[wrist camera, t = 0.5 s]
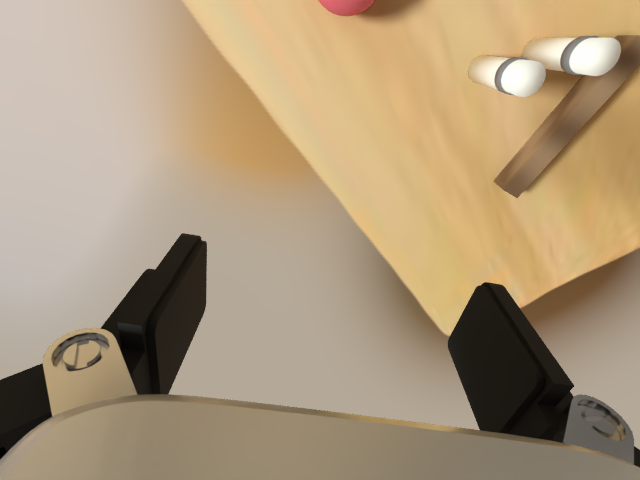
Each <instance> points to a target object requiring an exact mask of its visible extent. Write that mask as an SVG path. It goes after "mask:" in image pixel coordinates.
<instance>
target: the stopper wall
mask: <svg viewBox="0 0 640 480" xmlns="http://www.w3.org/2000/svg"><path fill="white" fill-rule="evenodd" d="M615 39H616V40H617V41H618V42H619V43H620V46H621V54H620V57H619V59H618V61H617V63H616V64H615V66H614V67H613V68H612V69H611V70H609V71H608V72H607V73H605V74H603V75H600V76H590V75H583V77H582V78H581V79H580V80H579V81H578V83H577V84H576V85H575V86H574V87H573V88H572V90H571V91H570V92H569V93H568V94H567V95H566V97H565V98H564V99H563V100H562V101H561V102H560V104H559V105H558V106H557V107H556V108H555V109H554V111H553V112H552V113H551V114H550V115H549V117H548V118H547V119H546V120H545V121H544V122H543V124H542V125H541V126H540V127H539V128H538V129H537V131H536V132H535V133H534V134H533V135H532V136H531V138H530V139H529V140H528V141H527V142H526V144H525V145H524V146H523V147H522V148H521V149H520V151H519V152H518V153H517V154H516V155H515V156H514V158H513V159H512V160H511V161H510V162H509V163H508V165H507V166H506V167H505V168H504V169H503V170H502V172H501V173H500V174H499V175H498V176H497V178H496V179H495V180H494V182H495V183H496V184H497V185H498V186H499V187H501V188H502V189H503V190H504V191H506V192H508V193H509V194H511V195H513V196H514V197H516V198H518V197H519V196H520V195H521V193H522V192H523V191H524V190H525V189H526V188H527V187H528V186H529V185H530V184H531V183H532V181H533V180H534V179H535V178H536V177H537V176H538V175H539V174H540V173H541V172H542V171H543V169H544V168H545V167H546V166H547V165H548V164H549V163H550V162H551V161H552V160H553V159H554V157H555V156H556V155H557V154H558V153H559V152H560V151H561V150H562V149H563V148H564V147H565V145H566V144H567V143H568V142H569V141H570V140H571V139H572V138H573V137H574V136H575V135H576V133H577V132H578V131H579V130H580V129H581V128H582V127H583V126H584V125H585V124H586V123H587V121H588V120H589V119H590V118H591V117H592V116H593V115H594V114H595V113H596V112H597V111H598V109H599V108H600V107H601V106H602V105H603V104H604V103H605V102H606V101H607V100H608V99H609V97H610V96H611V95H612V94H613V93H614V92H615V91H616V90H617V89H618V88H619V87H620V85H621V84H622V83H623V82H624V81H625V80H626V79H627V78H628V77H629V76H630V74H631V73H632V72H633V71H634V70H635V69H636V68H637V67H638V66H639V65H640V36H617V37H616V38H615Z"/></svg>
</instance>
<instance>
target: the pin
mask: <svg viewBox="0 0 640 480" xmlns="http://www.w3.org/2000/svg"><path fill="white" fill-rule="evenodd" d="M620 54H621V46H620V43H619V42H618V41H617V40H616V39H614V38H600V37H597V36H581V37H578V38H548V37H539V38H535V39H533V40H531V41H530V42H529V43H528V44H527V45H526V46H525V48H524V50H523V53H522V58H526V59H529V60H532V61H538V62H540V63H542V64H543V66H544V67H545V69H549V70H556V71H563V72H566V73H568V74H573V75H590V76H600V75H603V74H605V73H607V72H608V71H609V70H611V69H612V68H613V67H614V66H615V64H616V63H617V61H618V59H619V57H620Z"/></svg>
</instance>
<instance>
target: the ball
mask: <svg viewBox="0 0 640 480" xmlns="http://www.w3.org/2000/svg"><path fill="white" fill-rule="evenodd" d="M374 1H375V0H319V2H320V3H321V4H322V5H323V6H324V7H325V8H326V9H327V10H328V11H330V12H332V13H334V14H336V15H340V16H353V15H356V14H359V13H361V12H363V11H364V10H366V9H367V8H368V7H370V6H371V5H372V4H373V3H374Z"/></svg>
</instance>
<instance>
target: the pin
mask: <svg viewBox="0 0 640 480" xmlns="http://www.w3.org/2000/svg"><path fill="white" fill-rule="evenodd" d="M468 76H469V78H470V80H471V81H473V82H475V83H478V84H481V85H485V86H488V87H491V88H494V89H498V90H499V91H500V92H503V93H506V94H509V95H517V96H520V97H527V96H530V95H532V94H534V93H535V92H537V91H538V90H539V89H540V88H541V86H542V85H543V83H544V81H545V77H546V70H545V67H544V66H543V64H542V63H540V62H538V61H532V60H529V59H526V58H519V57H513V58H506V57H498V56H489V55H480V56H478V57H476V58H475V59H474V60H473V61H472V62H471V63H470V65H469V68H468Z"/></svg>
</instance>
